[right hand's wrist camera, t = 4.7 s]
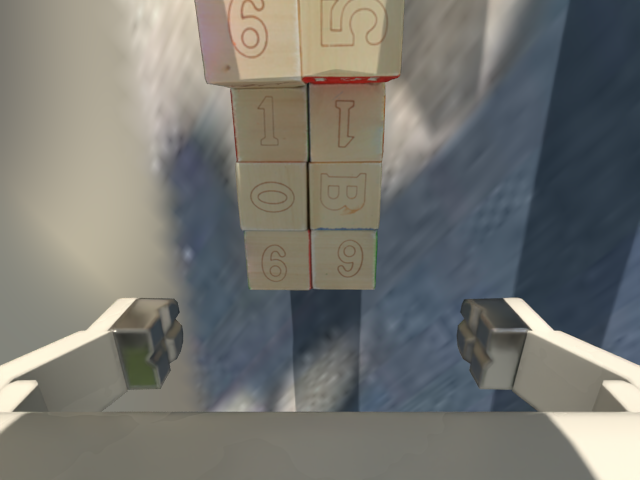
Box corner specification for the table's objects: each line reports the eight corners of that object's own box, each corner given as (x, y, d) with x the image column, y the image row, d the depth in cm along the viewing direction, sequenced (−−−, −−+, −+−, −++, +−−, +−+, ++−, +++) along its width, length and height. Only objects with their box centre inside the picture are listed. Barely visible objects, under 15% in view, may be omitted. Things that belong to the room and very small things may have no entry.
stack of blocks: (359, 227, 26) (384, 332, 14) (272, 226, 26) (227, 330, 14) (376, -182, 18) (462, -694, 6) (249, -179, 18) (106, -675, 6)
